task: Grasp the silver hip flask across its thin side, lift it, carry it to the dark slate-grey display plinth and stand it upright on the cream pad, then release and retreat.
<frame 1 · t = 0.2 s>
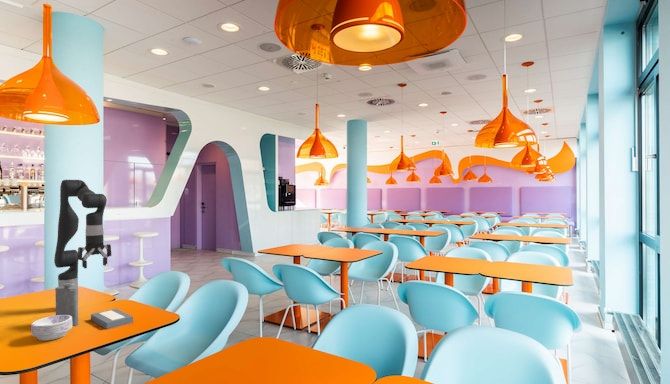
hand: (95, 266, 191), 29 cm above the table, fingers open, 8 cm apart
hip flask: (68, 323, 195), on the table
paper bowls: (52, 337, 176), on the table
display plinth: (111, 321, 197), on the table
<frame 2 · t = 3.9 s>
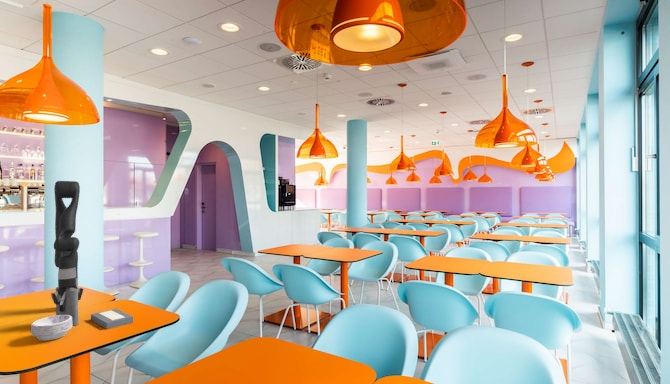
hand: (67, 310, 195), 6 cm above the table, fingers closed on hip flask, 4 cm apart
hip flask: (68, 323, 195), on the table, touching gripper
everything else where it was.
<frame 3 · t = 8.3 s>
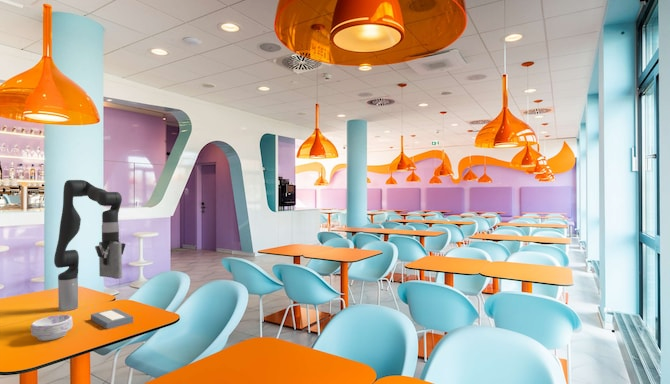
hand: (110, 264, 197), 29 cm above the table, fingers closed on hip flask, 4 cm apart
hip flask: (111, 277, 197), point 22 cm above the table, touching gripper
everything else where it was.
when the fingers open (11 cm above the table, at t = 13.0 s): hip flask drops 1 cm, resting on display plinth.
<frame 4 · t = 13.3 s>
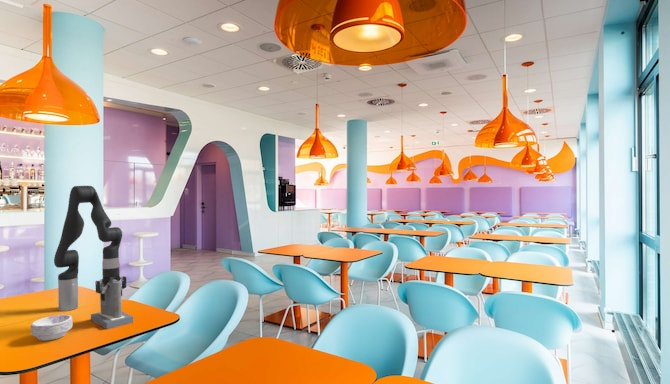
hand: (111, 299, 197), 11 cm above the table, fingers open, 7 cm apart
hip flask: (112, 315, 197), point 3 cm above the table, touching display plinth
everything else where it was.
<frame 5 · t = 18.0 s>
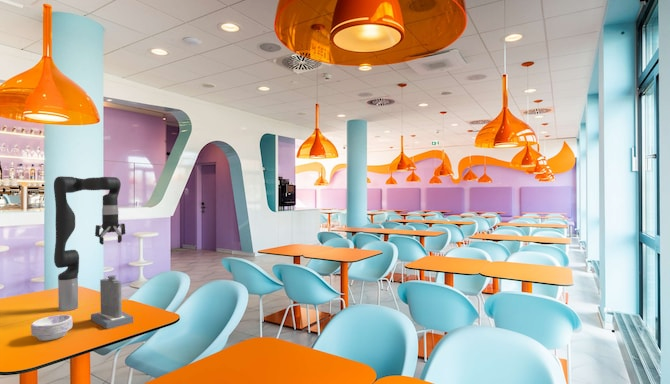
hand: (110, 243, 210), 38 cm above the table, fingers open, 8 cm apart
nothing on the table moved.
at the end: hip flask inside the target area on the display plinth (0.1 cm from its centre), point 3.0 cm above the display plinth's base; hip flask tilted 0°; the gripper is holding nothing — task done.
